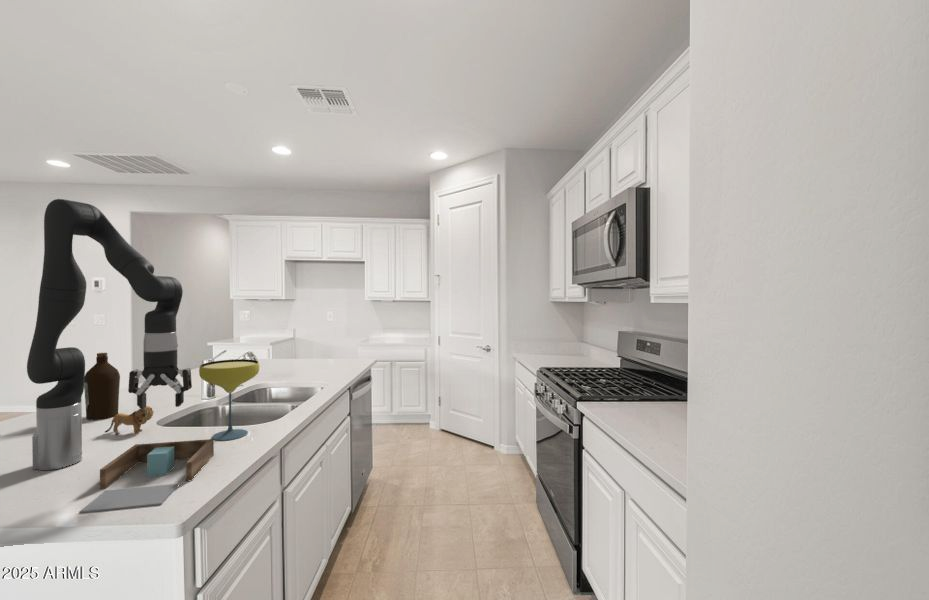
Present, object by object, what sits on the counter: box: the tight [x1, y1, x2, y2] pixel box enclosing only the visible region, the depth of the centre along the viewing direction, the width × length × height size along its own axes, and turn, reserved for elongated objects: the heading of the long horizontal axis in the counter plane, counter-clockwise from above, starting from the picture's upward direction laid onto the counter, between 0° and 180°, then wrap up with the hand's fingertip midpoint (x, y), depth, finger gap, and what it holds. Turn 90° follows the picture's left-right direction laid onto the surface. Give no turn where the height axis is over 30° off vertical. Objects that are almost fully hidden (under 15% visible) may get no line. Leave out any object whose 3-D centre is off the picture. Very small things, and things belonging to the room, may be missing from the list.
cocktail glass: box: [198, 358, 260, 442], centre depth 142 cm, size 18×18×25 cm
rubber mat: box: [78, 483, 180, 514], centre depth 99 cm, size 16×10×1 cm, turn 105°
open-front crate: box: [99, 438, 215, 490], centre depth 114 cm, size 20×17×5 cm
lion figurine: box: [104, 405, 154, 435], centre depth 144 cm, size 15×5×9 cm, turn 103°
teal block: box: [146, 446, 175, 477], centre depth 114 cm, size 4×5×6 cm
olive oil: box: [84, 352, 121, 421], centre depth 160 cm, size 11×11×25 cm
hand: (160, 406), depth 114 cm, fingers open, 8 cm apart
